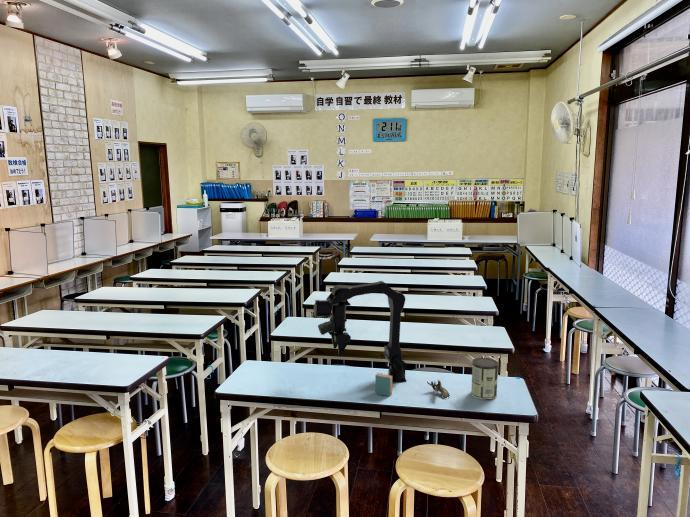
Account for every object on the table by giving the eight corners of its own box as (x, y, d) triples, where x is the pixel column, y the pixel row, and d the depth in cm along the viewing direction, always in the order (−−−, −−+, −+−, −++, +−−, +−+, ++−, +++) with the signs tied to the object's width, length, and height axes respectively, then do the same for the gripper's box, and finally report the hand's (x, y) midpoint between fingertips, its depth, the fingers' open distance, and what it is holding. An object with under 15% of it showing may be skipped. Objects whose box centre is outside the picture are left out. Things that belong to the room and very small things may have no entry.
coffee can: (482, 387, 216) (484, 355, 214) (502, 396, 207) (504, 363, 205) (465, 392, 210) (466, 360, 208) (484, 402, 202) (486, 368, 200)
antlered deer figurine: (423, 390, 210) (437, 395, 202) (429, 374, 212) (443, 378, 204) (436, 397, 213) (450, 401, 205) (442, 381, 215) (456, 385, 207)
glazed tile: (377, 391, 212) (377, 373, 211) (392, 394, 209) (392, 375, 208) (375, 393, 210) (375, 375, 209) (389, 396, 207) (390, 378, 206)
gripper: (315, 310, 219) (314, 345, 222) (324, 322, 202) (323, 360, 204) (340, 309, 222) (339, 344, 225) (351, 321, 204) (350, 359, 207)
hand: (337, 351), depth 215 cm, fingers open, 9 cm apart
